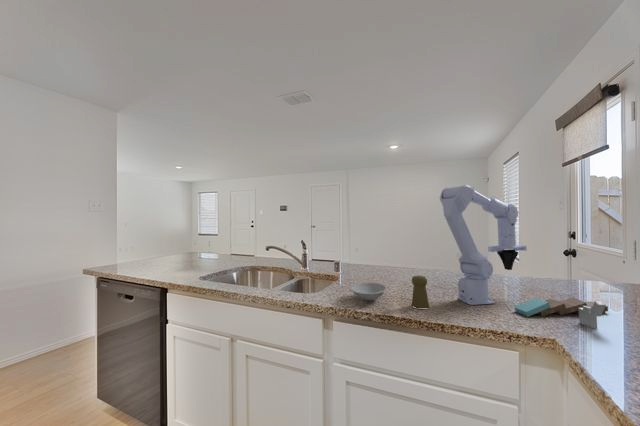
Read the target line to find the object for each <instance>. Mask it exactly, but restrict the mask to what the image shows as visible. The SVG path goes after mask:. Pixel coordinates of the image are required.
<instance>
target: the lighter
mask: <svg viewBox="0 0 640 426" xmlns="http://www.w3.org/2000/svg"><path fill="white" fill-rule="evenodd" d="M593 302H594V304H593V307H592V308H591V307H588V306H583V308H579V314H578V322H579V323H580V324H581V325H584V326H586V327H587V328H589V329H598V318H597V317H602V315H603V314H602V313H603V311H604V308H605V306H607V305H606V304H605V303H604V302H603V301H600V300H597V301H593Z"/></svg>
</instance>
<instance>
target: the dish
mask: <svg viewBox="0 0 640 426" xmlns="http://www.w3.org/2000/svg"><path fill="white" fill-rule="evenodd" d="M350 291H351V292H353V294H354V295H355V296H356V297H358V298H359V299H361V300H365V301H368V300H371V301H372V300H376V299H378V298H380V297H381V296H383V294H385V292H387V291H388V286H387V285H385V284H383V283H379V282H371V281H370V282H367V281H365V282H358V283H355V284H352V285H351V286H350Z"/></svg>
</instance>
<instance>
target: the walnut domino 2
mask: <svg viewBox="0 0 640 426" xmlns="http://www.w3.org/2000/svg"><path fill="white" fill-rule="evenodd" d="M558 301H559V302H562V303H564V304H565V307H566V308H565V309H563V310H560V311H557V312H555V313H556V314H558V315H560V316H562V315H566V314H570V313H575V312H574V311H578V310H579V308H583V306H587V304H586V303H585V302H586V301H583V300H580V299H578V298H576V297H569V298H566V299H563V300H558Z"/></svg>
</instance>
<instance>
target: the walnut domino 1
mask: <svg viewBox="0 0 640 426" xmlns="http://www.w3.org/2000/svg"><path fill="white" fill-rule="evenodd" d="M544 301H546V302H549V304H550V308H548V309H545V310H543V311H540V312H538V313H536V314H535V315H538V316H541V317H546V316H548V315H551V314H553V313H556V312H557V311H560V310H563V309H565V308H566V307H565V304H564V303H562V302H559V301H560V300H556V299H552V298H547V299H545V300H544Z"/></svg>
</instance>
